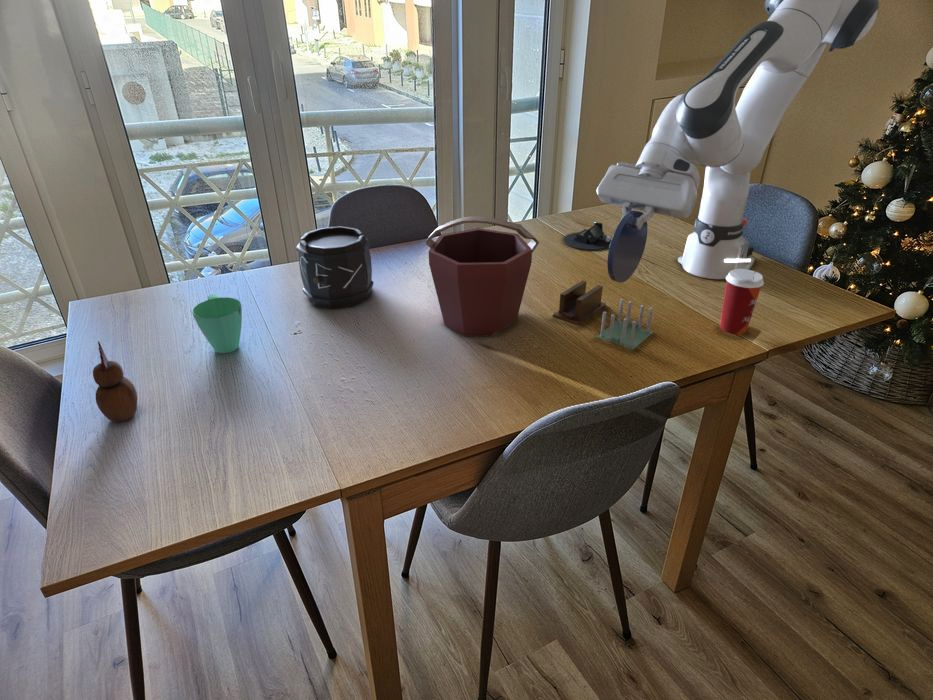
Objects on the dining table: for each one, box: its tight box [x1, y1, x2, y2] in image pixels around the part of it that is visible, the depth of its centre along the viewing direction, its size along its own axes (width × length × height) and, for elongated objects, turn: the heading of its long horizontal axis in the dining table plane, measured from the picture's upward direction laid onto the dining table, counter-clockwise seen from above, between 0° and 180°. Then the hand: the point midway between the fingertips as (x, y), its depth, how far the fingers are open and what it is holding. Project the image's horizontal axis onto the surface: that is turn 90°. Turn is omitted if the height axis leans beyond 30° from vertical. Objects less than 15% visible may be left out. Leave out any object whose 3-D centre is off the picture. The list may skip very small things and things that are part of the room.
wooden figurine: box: [92, 340, 138, 423], centre depth 110 cm, size 7×6×15 cm
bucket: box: [425, 215, 540, 337], centre depth 138 cm, size 24×22×25 cm
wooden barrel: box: [295, 225, 374, 310], centre depth 154 cm, size 18×18×16 cm
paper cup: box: [719, 269, 765, 335], centre depth 136 cm, size 8×8×14 cm
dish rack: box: [595, 298, 654, 350], centre depth 135 cm, size 10×9×7 cm
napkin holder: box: [552, 279, 607, 326], centre depth 145 cm, size 13×7×6 cm, turn 140°
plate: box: [606, 210, 648, 284], centre depth 128 cm, size 15×1×15 cm, turn 140°
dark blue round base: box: [563, 221, 612, 251], centre depth 188 cm, size 15×15×6 cm
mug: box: [192, 293, 243, 354], centre depth 134 cm, size 15×10×10 cm
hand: (630, 226), depth 125 cm, fingers closed on plate, 1 cm apart
